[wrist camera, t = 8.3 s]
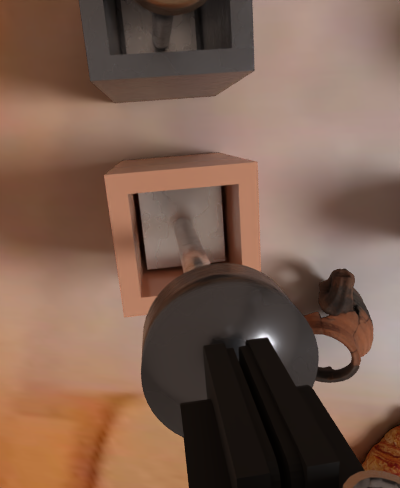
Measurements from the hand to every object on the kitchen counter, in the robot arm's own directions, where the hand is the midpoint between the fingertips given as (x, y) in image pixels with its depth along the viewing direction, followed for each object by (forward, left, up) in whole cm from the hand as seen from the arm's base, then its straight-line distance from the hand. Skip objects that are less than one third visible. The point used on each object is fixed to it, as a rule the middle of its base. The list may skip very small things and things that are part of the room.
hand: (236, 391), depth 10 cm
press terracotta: (+1, 0, -28) cm, 28 cm away
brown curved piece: (+13, +15, -29) cm, 35 cm away
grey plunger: (0, 0, -19) cm, 19 cm away
